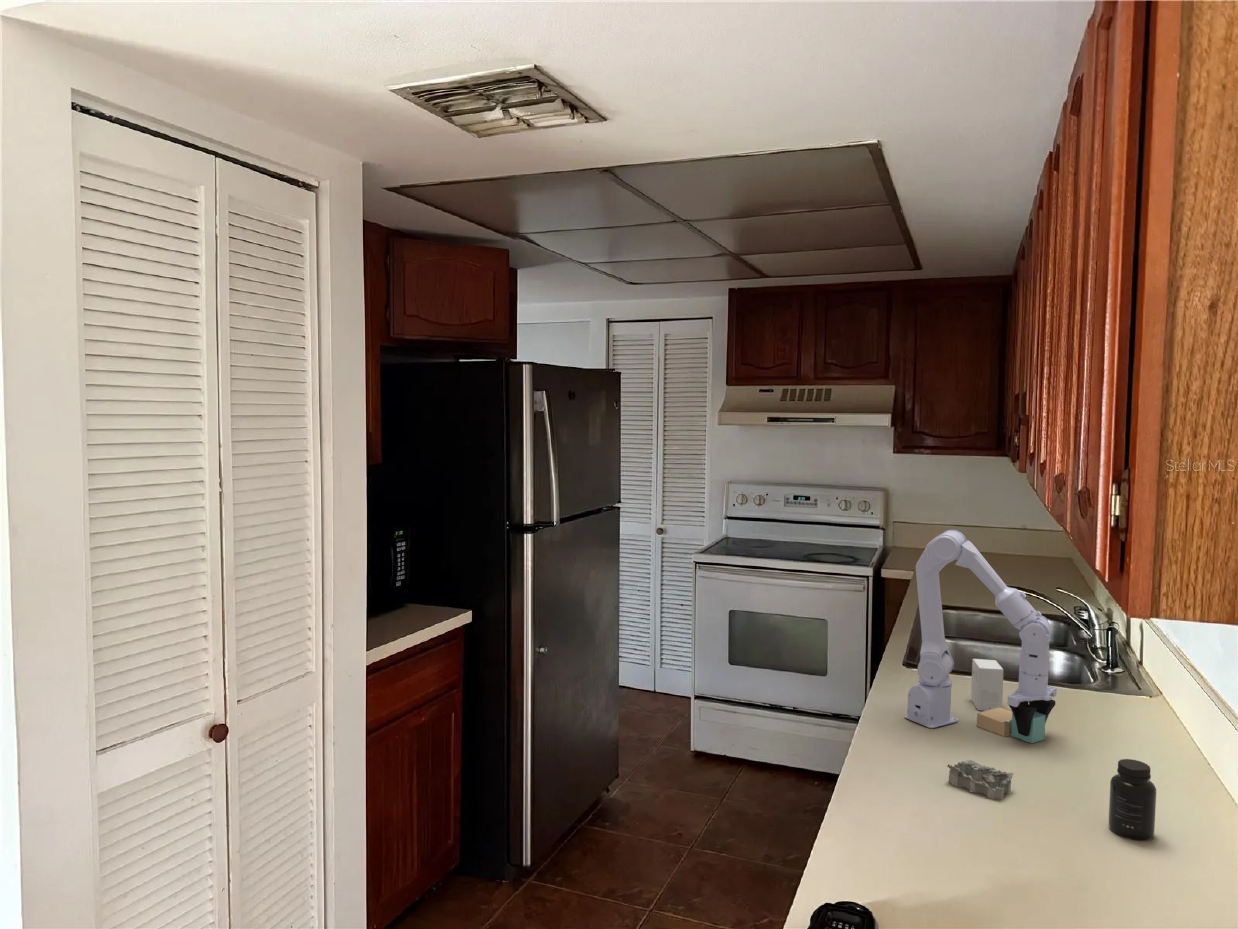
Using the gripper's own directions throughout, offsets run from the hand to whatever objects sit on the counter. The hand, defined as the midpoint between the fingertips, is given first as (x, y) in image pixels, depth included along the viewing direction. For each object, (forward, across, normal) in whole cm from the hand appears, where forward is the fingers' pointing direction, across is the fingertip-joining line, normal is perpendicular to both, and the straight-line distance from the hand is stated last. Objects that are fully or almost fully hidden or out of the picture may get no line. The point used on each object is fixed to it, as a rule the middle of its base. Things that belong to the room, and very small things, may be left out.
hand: (1030, 732), depth 188 cm
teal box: (+1, 0, +1) cm, 2 cm away
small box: (+2, +10, +18) cm, 21 cm away
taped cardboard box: (+1, 0, +7) cm, 7 cm away
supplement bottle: (+2, -22, -34) cm, 41 cm away
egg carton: (+2, -30, -10) cm, 32 cm away
